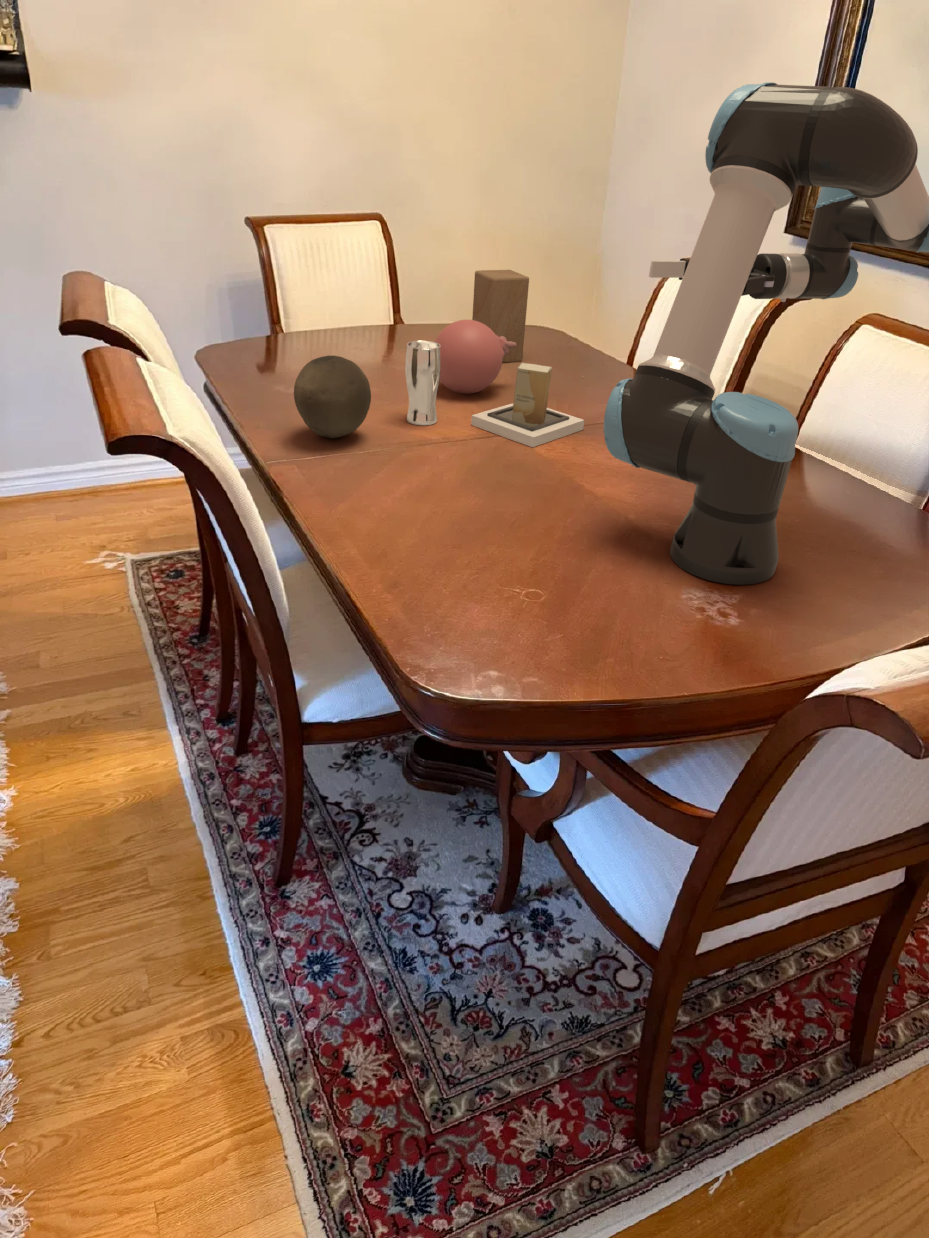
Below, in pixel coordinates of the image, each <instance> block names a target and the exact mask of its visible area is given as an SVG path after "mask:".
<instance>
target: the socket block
mask: <svg viewBox="0 0 929 1238" xmlns="http://www.w3.org/2000/svg"><path fill="white" fill-rule="evenodd" d="M513 403H514V402H513ZM513 403H509V404H506V405H503V406H499V407H495V408H492V409H488V410H485V411H482V412H479V413H474V414H472V415H471V421H470V422H471V423H470V424H471V426H472V427H476V428H478V429H481V430H484V431H487V432H490V433H492V434H494V435H497V436H500V437H503V438H505V439H509V440H512V441H514V442H517V443H519V444H522V445H525V446H528V447H531V448H535V447H537V446H541V445H543V444H546V443H549V442H551V441H555V440H558V439H560V438H563V437H566V436H569V435H571V434H572V435H573V434H575V433H578V432H581V431H583V430H584V428H585V427H584V426H585V419H583V418H579V417H576V416H573V415H571V414H567V413H564V412H561V411H558V410H555V409H552V408H550V407H547V410H546V417H545V423H543V424H540V425H537V426H534V427H530V426H527V425H524V424H521V423H518V422H516V421H513V420H512V412H513Z"/></svg>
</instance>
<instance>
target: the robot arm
mask: <svg viewBox="0 0 929 1238" xmlns="http://www.w3.org/2000/svg"><path fill="white" fill-rule="evenodd" d="M707 140H708V143H707V145H706V147H705V155H704V157H705V166H706V168H707V171H708V172H709V173H710V175H709V183H710V186H711V187H712V190H713V192H714V195H713V198H712V201H711V203H710V207H709V209H708V211H707V213H706V217H705V220H704V222H703V224H702V227H701V230H700V231H699V232H700V233H699V235H698V238H697V240H696V243H695V246H694V249H693V251H692V253H691V256H690V259H688V258H687V259H686V258H685V257H681V258H680V259H679V260H651V263H650V266H649V267H650V268H649V275H648V277H649V278H653V279H654V278H657V279H658V278H661V279H663V278H667V279H671V278H675V279H676V278H678V280H679V281H681V282H680V285H679V288H678V289H677V293H676V296H675V297H674V301H673V303H672V306H671V308H670V311H669V314H668V317H667V319H666V322H665V324H664V327H663V329H662V331H661V332H662V333H661V335H660V337H659V339H658V342H657V345H656V348H655V350H654V353H653V356H651V358H649V359H647V360H644V361H643V362H641V363H639V364H638V365H637V367H636V371H635V373H634V377H632V378H624V379H621V380H619V381H618V382H617V383H616V386H615V387H613V389H612V390H611V391H610V392H611V393H610V395H609V397H608V399H607V403H606V406H605V411H604V416H603V417H604V418H603V434H604V443H605V445H606V448H607V450H608V452H609V453H610V455H611V456H612V457H614V458H615V459H616V460H618V461H620V462H624V463H626V464H629V465H631V466H633V467H634V468H636V469H640V468H641V469H645V470H648V471H651V472H654V473H658V474H660V475H665V476H667V477H670V478H675V479H677V480H680V481H684V482H688V483H690V484H693V485H695V491H694V495H693V500H692V503H691V506H690V508H689V509H688V511H687V513H686V515H685V516H684V518H683V520H682V521H681V523H680V524H679V526H678V528H677V530H676V531H675V533H674V535H673V538H672V542H671V546H670V550H669V554H670V558H671V560H672V561H673V562H674V563H675V564H676V565H677V566H678V567H680V568H681V569H682V570H684V571H685V572H687V573H689V574H690V575H693V576H695V577H698V578H700V579H703V580H707V581H711V582H713V583H714V582H715V583H718V584H719V583H720V584H725V585H733V586H734V585H738V586H741V585H742V586H743V585H754V584H760V583H763V582H766V581H768V580H769V579H771V578H772V577H773V576H774V574H775V573H776V569H777V566H778V561H779V554H780V553H779V543H778V534H777V533H778V531H777V522H776V521H777V516H778V514H779V513H778V512H779V509H780V507H781V506H780V505H781V503H782V502H781V501H782V499H783V493H784V490H785V487H786V483H787V479H788V476H789V474H790V473H789V472H790V468H791V466H792V462H793V459H794V458H795V454H796V444H797V439H798V433H799V423H798V421H797V418H796V417H795V416H794V414H792V412H791V411H790V410H789V409H788V408H787V407H784V406H783V405H781V404H779V403H777V402H775V401H773V400H771V399H768V398H765V397H762V396H760V395H756V394H752V393H746V394H745V393H742V392H739V391H726V392H721V393H719V394H718V395H717V396H715V394H716V388H715V386H714V383H713V381H712V379H711V374H712V372H713V369H714V366H715V365H716V361H717V360H718V356H719V354H720V351H721V348H722V346H723V344H724V341H725V338H726V336H727V333H728V331H729V328H730V325H731V323H732V322H733V321H732V320H733V318H734V315H735V312H736V310H737V307H738V305H739V302H740V301H741V297H743V296H750V298H751V299H754V300H772V299H780V302H782V303H785V302H786V301H787V299H791V300H793V299H795V300H796V299H799V300H800V299H802V300H805V299H811V300H813V299H815V300H816V299H817V300H818V299H819V300H828V299H835V298H837V299H838V298H839V299H840V298H843V297H844V296H846V295H848V294H849V293H850V292H851V291H852V290H853V288H855V285H856V284H857V281H858V279H859V278H858V277H859V272H858V268H859V264H858V261H857V259H856V258H855V256H853V255H851V254H850V253H851V249H852V245H853V244H855V243H856V244H861V245H868V246H878V247H885V248H891V249H899V250H905V251H912V252H914V253H929V194H928V191H927V189H926V187H925V184H924V182H923V178H922V176H921V174H920V172H919V168H918V166H917V160H918V154H919V150H918V149H919V148H918V143H917V139H916V137H915V134H914V132H913V130H912V129H911V127H910V125H909V123H908V122H907V121H906V120H905V118H903V117H902V116H901V115H900V114H899V113H898V112H897V111H896V110H895V109H894V108H892V107H891V106H890V105H889V104H887V103H886V102H884V101H883V100H881V99H879V98H878V97H876V96H874V95H873V94H871V93H869V92H866V91H864V90H861V89H857V88H853V87H846V86H833V87H832V86H821V85H820V86H819V85H817V86H815V85H796V84H794V85H793V84H778V83H776V82H772V81H771V82H767V81H766V82H763V83H755V84H754V83H750V84H745V85H742V86H740V87H738V88H736V89H734V90H733V91H732V92H731V93H729V95H728V96H727V97H726V98H725V99H724V101H722V103H721V104H720V107H719V108H718V110H717V112H716V114H715V116H714V118H713V120H712V123H711V126H710V129H709V132H708V135H707ZM797 186H804V187H805V186H807V187H820V191H819V193H818V194H819V196H818V198H817V201H816V205H815V206H814V208H813V209H814V212H813V216H812V221H811V225H810V227H809V228H810V229H809V234H808V238H807V242H806V245H805V249H804V253H797V252H796V253H794V252H793V253H792V252H791V253H788V252H787V253H784V252H783V253H759V252H760V249H761V246H762V244H763V242H764V239H765V236H766V234H767V231H768V229H769V226H770V224H771V221H772V220H773V219H772V218H773V216H774V213H775V212H776V211H779V210H780V209H782V208H784V207H786V206H787V205H789V203H791V201H792V197H793V196H794V193H795V190H796V188H797ZM714 396H715V398H714ZM713 398H714V399H713Z"/></svg>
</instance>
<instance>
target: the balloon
mask: <svg viewBox="0 0 929 1238" xmlns="http://www.w3.org/2000/svg"><path fill="white" fill-rule="evenodd" d="M434 340H435V341H434V342H436V343H439V344H440V345H441V375H440V383H441V384H442V385H444V386H445V387H446V388H447V389H448V390H451V391H452V392H455V393H459V394H463V395H464V394H465V395H469V394H471V395H472V394H475V393H479V392H481V391H482V392H483V390H485V389H486V388H488V387H489V386H491V384H493V383H494V381H495V380H496V379H497V377H498V376H499V374H500V371H501V369H502V366H503V365H502V364H503V363H502V359H503V357H504V355H506V354H508V353H509V348H515V347H516V346H517V344H516V343H515V342H512V341H507V340H506V338H505V337H504V336H500V337H498V336H497V335H495V333H494V332H493V331H492V330H491V329H490V328H489V327H488V326H486V325H485V324H483V323H481V322H478V321H475V320H472V319H460V320H457V321H456V320H455V321H454V322H452V323H450V324H448V325H447V326H445V327H444V328H443V329H442V330H441V331H440V332H439V333H438V335H436V338H435V339H434Z"/></svg>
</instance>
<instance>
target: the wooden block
mask: <svg viewBox="0 0 929 1238" xmlns="http://www.w3.org/2000/svg"><path fill="white" fill-rule="evenodd" d="M473 282H474V283H473V284H474V285H473V298H472V299H473V300H472V301H473V303H472V319H471V320H475V321H478V322H481V323H483V324H485V325H486V326H488V327H489V328H490V329H491V330H492V331H493V332H494V333H495V335H497V336H498V337H500V336H504V337H505V338H506V340H507V341H512V342H515V343H516V344H517V346H516V347H515V348H509V353H508V354H506V355H504V357H503V359H502V364H504V363H505V364H506V363H516V362H517V363H518V362H519V363H520V362H522V361H523V357H524V356H523V355H524V345H525V343H524V342H525V331H526V319H527V310H528V309H527V308H528V296H529V295H528V294H529V286H530V285H529V284H530V278H529V276H526V275H525V274H522V273H519V272H517V271H515V270H512V269H485V270H475V271H474V281H473Z"/></svg>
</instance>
